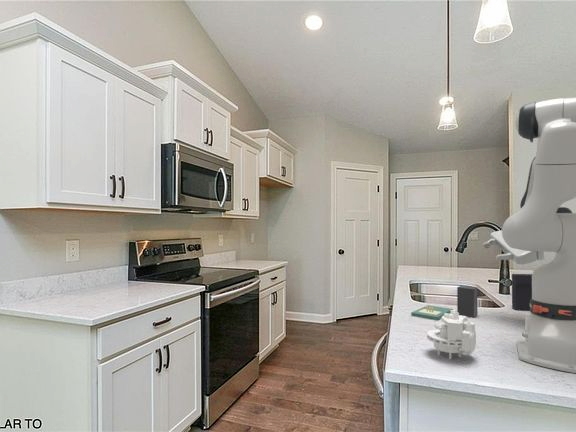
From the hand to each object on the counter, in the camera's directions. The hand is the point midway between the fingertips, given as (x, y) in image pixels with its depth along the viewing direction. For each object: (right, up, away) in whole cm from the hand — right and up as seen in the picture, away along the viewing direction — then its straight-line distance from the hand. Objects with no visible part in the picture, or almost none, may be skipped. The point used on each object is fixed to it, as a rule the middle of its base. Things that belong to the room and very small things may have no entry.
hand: (489, 251), depth 131 cm
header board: (-18, -26, +9) cm, 33 cm away
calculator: (+26, -27, +17) cm, 41 cm away
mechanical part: (-32, -25, -36) cm, 54 cm away
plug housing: (-5, -26, +7) cm, 27 cm away
